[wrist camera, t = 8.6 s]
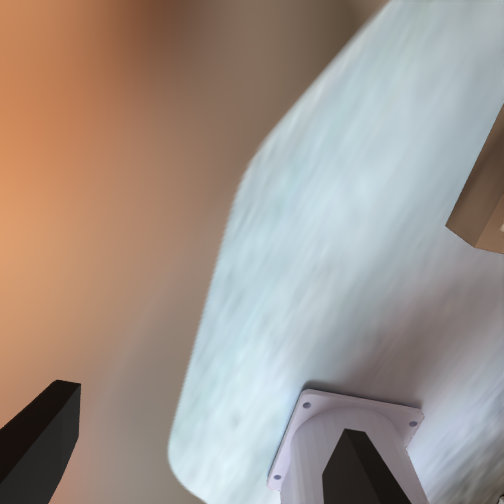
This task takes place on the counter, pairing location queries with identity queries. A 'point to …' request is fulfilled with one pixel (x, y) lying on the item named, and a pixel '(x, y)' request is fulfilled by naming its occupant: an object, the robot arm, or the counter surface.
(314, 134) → the counter surface
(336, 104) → the counter surface
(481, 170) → the walnut base slab
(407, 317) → the counter surface
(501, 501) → the skincare box
